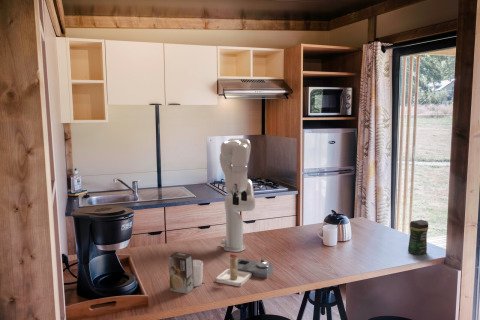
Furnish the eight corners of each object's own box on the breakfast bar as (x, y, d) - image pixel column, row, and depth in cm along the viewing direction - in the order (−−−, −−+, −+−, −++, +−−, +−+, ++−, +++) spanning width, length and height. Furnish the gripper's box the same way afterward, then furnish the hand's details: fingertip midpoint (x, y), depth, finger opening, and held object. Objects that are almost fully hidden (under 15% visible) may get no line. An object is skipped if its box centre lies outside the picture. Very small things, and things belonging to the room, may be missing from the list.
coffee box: (194, 288, 183) (193, 254, 181) (187, 294, 177) (186, 259, 175) (176, 285, 186) (175, 251, 184) (169, 291, 180) (168, 256, 178)
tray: (215, 283, 188) (215, 278, 187) (227, 273, 199) (227, 268, 199) (240, 288, 182) (240, 283, 182) (252, 277, 194) (252, 272, 194)
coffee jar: (416, 256, 222) (418, 223, 220) (405, 251, 229) (407, 219, 227) (429, 253, 226) (431, 221, 224) (417, 249, 233) (419, 217, 231)
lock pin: (229, 279, 190) (228, 254, 188) (232, 276, 193) (232, 252, 191) (235, 280, 188) (235, 255, 187) (238, 277, 192) (238, 253, 190)
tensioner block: (232, 273, 199) (232, 258, 198) (239, 267, 206) (239, 252, 205) (267, 280, 191) (267, 264, 190) (273, 274, 198) (273, 258, 197)
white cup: (186, 280, 191) (186, 260, 190) (203, 279, 192) (203, 259, 191) (185, 287, 184) (185, 266, 182) (203, 286, 184) (203, 265, 183)
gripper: (240, 166, 212) (240, 198, 214) (225, 171, 196) (225, 205, 198) (253, 167, 208) (253, 199, 211) (239, 172, 193) (239, 207, 195)
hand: (240, 202), depth 204 cm, fingers open, 9 cm apart
